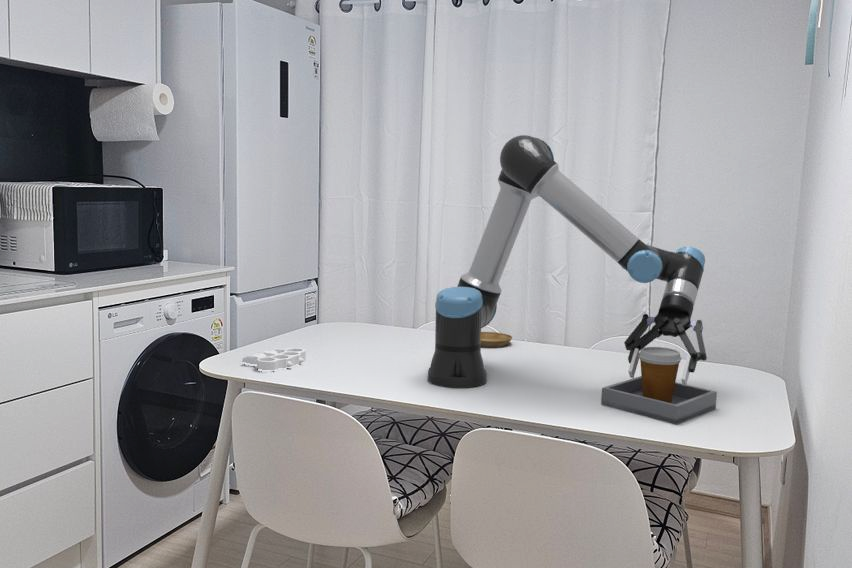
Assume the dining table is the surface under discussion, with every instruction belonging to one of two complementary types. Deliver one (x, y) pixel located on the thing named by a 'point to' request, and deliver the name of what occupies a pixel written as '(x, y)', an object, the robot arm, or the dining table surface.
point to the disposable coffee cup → (659, 372)
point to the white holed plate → (277, 358)
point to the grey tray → (679, 410)
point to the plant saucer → (494, 339)
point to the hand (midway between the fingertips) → (656, 378)
